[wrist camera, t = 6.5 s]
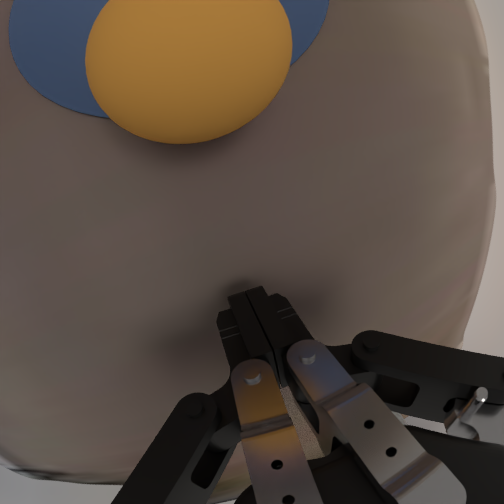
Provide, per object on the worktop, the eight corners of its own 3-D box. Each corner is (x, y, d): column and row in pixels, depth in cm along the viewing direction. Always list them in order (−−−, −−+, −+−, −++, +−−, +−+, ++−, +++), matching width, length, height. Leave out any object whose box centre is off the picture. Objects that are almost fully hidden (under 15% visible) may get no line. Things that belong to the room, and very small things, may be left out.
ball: (29, -2, 2) (117, 215, 6) (338, -51, 3) (326, 154, 7) (86, -1, 5) (122, 122, 9) (246, -35, 6) (254, 86, 10)
